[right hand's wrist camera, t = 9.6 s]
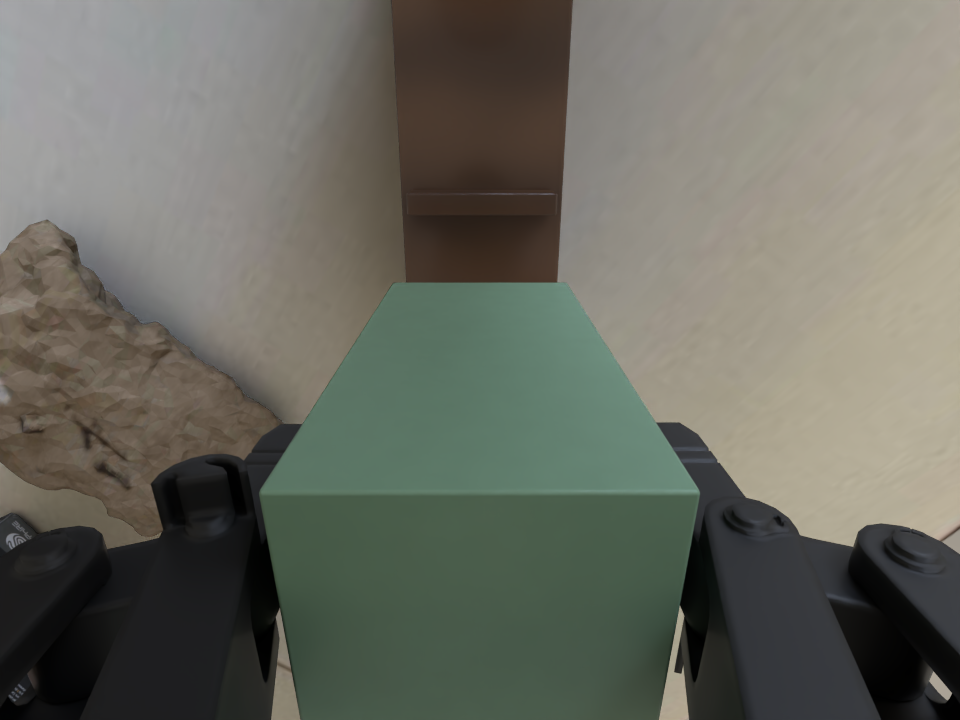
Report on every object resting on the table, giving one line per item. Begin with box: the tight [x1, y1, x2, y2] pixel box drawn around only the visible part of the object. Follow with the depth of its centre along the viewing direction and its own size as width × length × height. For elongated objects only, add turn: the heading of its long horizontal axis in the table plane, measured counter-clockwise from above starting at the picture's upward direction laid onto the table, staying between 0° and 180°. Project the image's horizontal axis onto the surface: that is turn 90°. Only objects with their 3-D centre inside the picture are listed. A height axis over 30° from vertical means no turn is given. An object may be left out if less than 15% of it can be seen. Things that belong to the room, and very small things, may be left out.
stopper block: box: [259, 283, 700, 720], centre depth 12 cm, size 5×5×10 cm
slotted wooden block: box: [391, 0, 573, 283], centre depth 28 cm, size 26×8×11 cm, turn 0°
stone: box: [0, 220, 283, 537], centre depth 38 cm, size 21×15×6 cm
